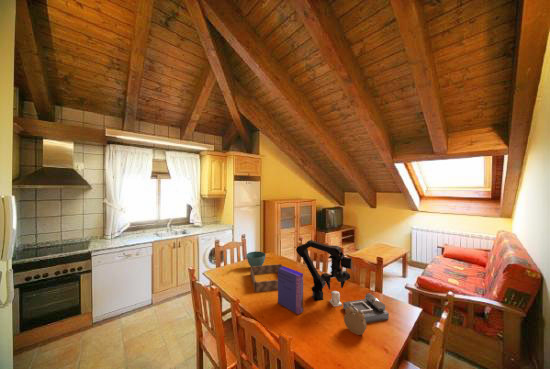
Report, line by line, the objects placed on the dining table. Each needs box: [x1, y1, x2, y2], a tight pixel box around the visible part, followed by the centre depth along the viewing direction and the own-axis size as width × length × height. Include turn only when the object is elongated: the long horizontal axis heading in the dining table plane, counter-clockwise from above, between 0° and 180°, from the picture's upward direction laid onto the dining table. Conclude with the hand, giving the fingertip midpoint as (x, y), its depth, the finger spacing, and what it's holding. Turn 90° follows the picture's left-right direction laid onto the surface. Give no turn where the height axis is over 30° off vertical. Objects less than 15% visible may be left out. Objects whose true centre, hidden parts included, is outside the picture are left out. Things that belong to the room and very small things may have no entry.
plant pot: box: [246, 250, 267, 267], centre depth 197 cm, size 18×18×12 cm
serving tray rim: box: [249, 263, 283, 293], centre depth 169 cm, size 28×30×7 cm
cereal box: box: [277, 265, 304, 315], centre depth 134 cm, size 17×5×24 cm, turn 45°
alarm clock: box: [343, 305, 368, 336], centre depth 110 cm, size 11×5×15 cm, turn 47°
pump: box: [328, 290, 343, 307], centre depth 139 cm, size 6×8×7 cm
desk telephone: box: [342, 292, 390, 324], centre depth 127 cm, size 20×16×9 cm
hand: (335, 288), depth 138 cm, fingers open, 9 cm apart
